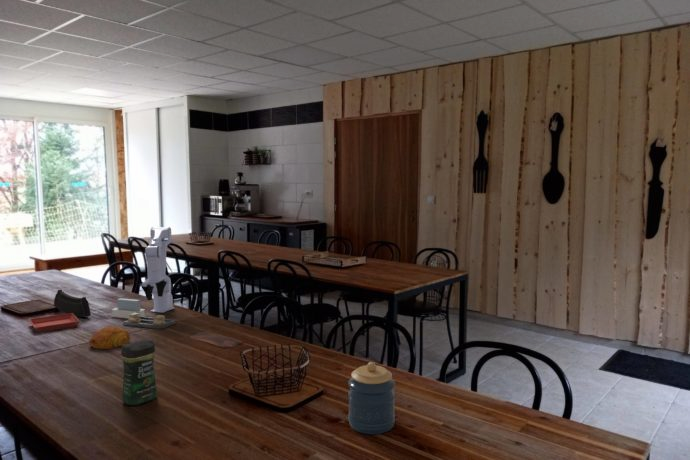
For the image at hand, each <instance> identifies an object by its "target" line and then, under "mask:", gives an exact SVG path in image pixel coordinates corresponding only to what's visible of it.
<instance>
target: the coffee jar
mask: <svg viewBox="0 0 690 460" xmlns="http://www.w3.org/2000/svg"><path fill="white" fill-rule="evenodd" d="M155 355H156V347H155V342H154V341H153V340H151V339H149V338H144V339H141V340H138V341H137V340H136V341H133V342H128V344H124V345H122V346H121V351H120V358H121V361H122V365H123V377H122V378H123V382H122V394H121V395H122V396H121V397H122V402H123V403H124V404H125V405H128V406H138V405H141V404H143V403H146V402H150V401H152V400H154V399H156V397H157V396H158V390H157V383H156V382H157V381H156V377H155V367H154V360H155Z"/></svg>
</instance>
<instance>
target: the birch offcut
mask: <svg viewBox="0 0 690 460" xmlns="http://www.w3.org/2000/svg"><path fill="white" fill-rule="evenodd" d="M153 318H154V323H161V322H163V321H165V319H166V318H165V315H163V314H162V315H161V314H158V315H156V316H154V317H153Z"/></svg>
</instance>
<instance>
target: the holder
mask: <svg viewBox="0 0 690 460" xmlns="http://www.w3.org/2000/svg"><path fill="white" fill-rule="evenodd" d="M110 312H111V316H110V317H112V318H119V319H127V320H128V319H129V314H132V313H140V316H142V317H147V313H146V309H145V308H140V311H127V310H118V307H115V308H111V311H110Z"/></svg>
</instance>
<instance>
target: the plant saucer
mask: <svg viewBox="0 0 690 460" xmlns="http://www.w3.org/2000/svg"><path fill="white" fill-rule="evenodd" d="M29 321H30V323H31V324H32V326H33V328H34V330H36V331H37V333H43V332H50V331H55V330H61V329H68V328H74V327H76V326H77V325H78V323H79V322H80V320H79V318H78V316H75V315H74V314H73V313H68V314H66V313H61V314H55V315H47V316H41V317H33V318H29Z"/></svg>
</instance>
